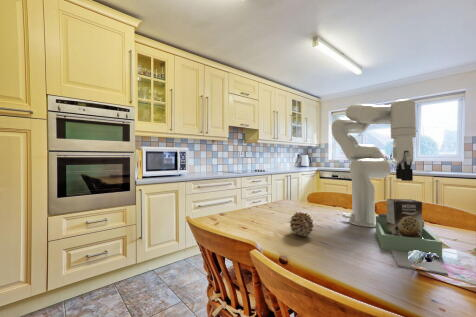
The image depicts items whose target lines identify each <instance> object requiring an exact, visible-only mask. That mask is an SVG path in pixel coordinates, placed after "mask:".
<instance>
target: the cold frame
mask: <svg viewBox="0 0 476 317" xmlns="http://www.w3.org/2000/svg"><path fill="white" fill-rule="evenodd" d="M375 221H376V227H375V234H376V236H377V240H378V241H379V242H378V243H379V245H380V248H381V250H384V251H385V250H386V251H391V250H394V251H401V252H409V251H413V250H419V251H422V252H426V253H429V252H431V253H436V254H437V255H438V256H439V257H441V258H440V259H443V242H442V241H441V240H440V239H439V238H438V237H437V236H436V235H435V234H434V233H432V232H431V231H430V230H429V229H428V228H427V227H426V226H425V221H424V220H423V219H422V237H423V238H424V239H420V238H411V237H403V236H395V235H387V213H378V214H377V215H375Z"/></svg>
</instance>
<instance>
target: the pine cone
mask: <svg viewBox="0 0 476 317" xmlns="http://www.w3.org/2000/svg"><path fill="white" fill-rule="evenodd" d="M313 223H314V219H312V216H310V214H308V212H306V213H303V212H301V211H299V212H296V213H294V214H293V215H292V216H291V217H290V220H289V224H290V225H289V227H290V229H291V231H292V232H293V233H294V234H295V235H297V236H301V237H306V236H309V235H311V233H312V232H314V230H313V228H315V226H314V224H313Z"/></svg>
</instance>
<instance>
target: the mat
mask: <svg viewBox="0 0 476 317" xmlns="http://www.w3.org/2000/svg"><path fill="white" fill-rule="evenodd" d="M390 252H391V255H392V257H393V259H394V261H395V263H396V266H397V267H399V268H404V269H409V270H414V271H415V270H416V269H415V267H413V266H412V264H414V263H413V262H410V261H409V260H408V252H401V251H394V250H390ZM414 265H416V266H418V267H423V268H426V269H428V270H429V271H432V272H433V273H432V272H431V273H432V274H439V275H442V276H443V275H444V276H449V272H448V271H447V270H446V269H445V268H444V267H443V266H442V265H441V263H440V262H439V261H438V260H437V259H436V258H435V260H434V261H432V262H427V263H426V262H421V263H418V264H414ZM416 271H417V270H416Z"/></svg>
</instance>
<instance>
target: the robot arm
mask: <svg viewBox="0 0 476 317" xmlns="http://www.w3.org/2000/svg"><path fill="white" fill-rule="evenodd" d="M416 120H417V119H416V102H415V100H413V99H408V98H406V99H405V98H404V99H399V100H394V101H393V102H392V103H391V104H388V105H387V104H386V105H385V104H380V105H379V104H378V105H376V104H375V105H374V104H372V103H355V104H354V103H353V104H351V105H349V106H348V107H347V108H346V110H345V117H344V118H341V117H340V118H337V119H335V120H334V121H333V122H332V123H331V135H332V136H333V139H334V140H335V142H336V143H337V144H338V145H339V147H340V148H341V150H342V152H343V153H344V156H345V158H346V159H347V161H348V162H350V165H349V173H350V178H351V187H352V188H351V190H352V192H351V197H352V198H351V199H352V200H351V201H352V203H351V206H352V207H351V208H352V212H351V213H350V212H349V213H346V212H345V213H344V212H343V213H342V218H345V219H348V222H349V224H352V225H354V226H358V227H362V228H363V227H364V228H376V211H375V210H376V208H375V207H376V205H375V200H376V198H375V196H376V195H375V192H376V190H375V185H374V184H373V182H372V181H371V179H385V178H387V177H389V176H390V175H391V172H392V171H391V170H392V169H391V165H390V163H389V161H388V159H387V158H386V157H385V155H384V153H383V152H382V151H381V149H380V148H379V147H377V146H376V145H374V144H361V143H359V142H358V140H357V139H356V138H355V137H354V136H353V135H351V134H362V133H364V132H366V130H367V129H368V128H369V126H371V125H390V140H391V139H392V140H393V142H392V144H393V145H392V164H394V165H396V166H395V178H396V180H401V182H402V181H403V182H413V180H414V179H413V178H414V175H413V171H414V169H413V163H414V140H413V138H416V137H417V133H416V132H417V131H416V130H417V129H416V128H417V127H416V125H417V122H416Z"/></svg>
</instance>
